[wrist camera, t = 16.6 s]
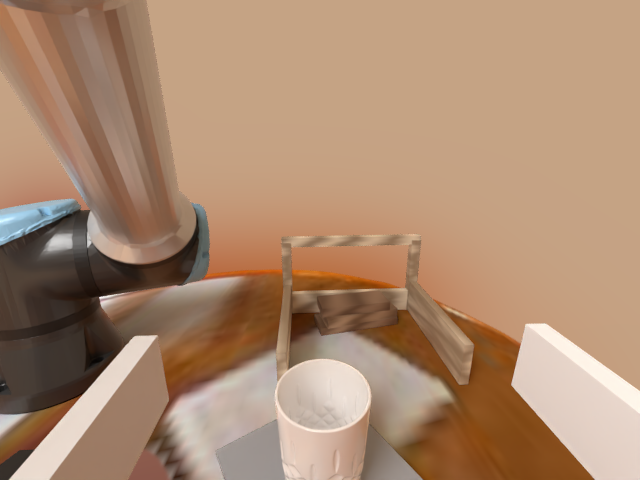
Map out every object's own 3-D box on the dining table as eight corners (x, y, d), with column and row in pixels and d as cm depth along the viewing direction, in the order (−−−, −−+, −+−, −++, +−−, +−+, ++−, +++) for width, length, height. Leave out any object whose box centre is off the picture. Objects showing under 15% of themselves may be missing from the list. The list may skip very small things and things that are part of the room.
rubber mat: (216, 454, 30) (215, 450, 30) (335, 391, 38) (335, 388, 38) (284, 650, 18) (284, 645, 18) (437, 499, 26) (438, 495, 26)
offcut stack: (322, 338, 50) (322, 312, 49) (313, 320, 56) (313, 296, 54) (398, 326, 54) (400, 301, 52) (383, 310, 59) (384, 288, 58)
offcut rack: (276, 393, 38) (271, 286, 34) (284, 310, 59) (281, 236, 55) (469, 384, 40) (486, 280, 36) (411, 305, 60) (418, 233, 56)
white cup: (283, 440, 31) (280, 358, 29) (359, 439, 31) (362, 357, 29) (274, 533, 24) (268, 433, 21) (374, 530, 24) (381, 430, 21)
